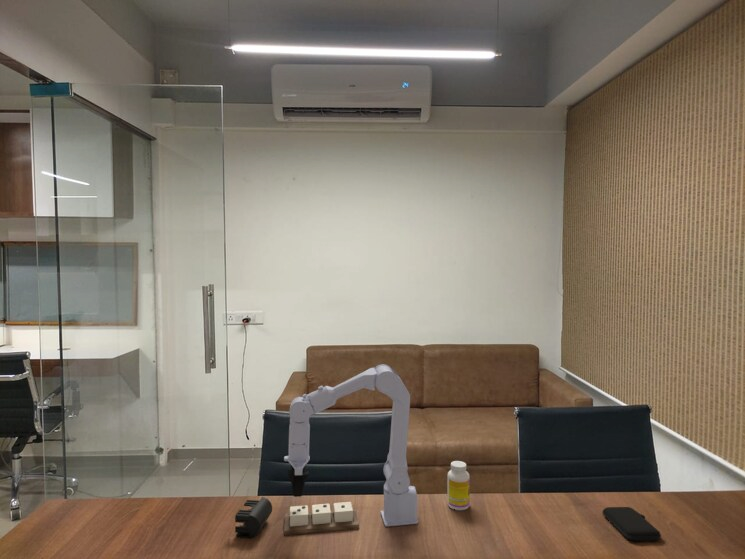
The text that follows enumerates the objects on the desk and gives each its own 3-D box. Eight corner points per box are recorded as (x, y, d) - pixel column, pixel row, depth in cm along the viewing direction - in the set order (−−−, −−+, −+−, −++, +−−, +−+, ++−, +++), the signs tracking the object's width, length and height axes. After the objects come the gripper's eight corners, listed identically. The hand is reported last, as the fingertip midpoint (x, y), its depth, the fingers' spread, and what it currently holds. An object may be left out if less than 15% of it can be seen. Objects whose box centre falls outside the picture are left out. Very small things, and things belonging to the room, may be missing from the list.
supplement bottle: (471, 511, 139) (472, 468, 139) (449, 511, 139) (449, 468, 138) (466, 499, 146) (467, 459, 145) (445, 500, 146) (445, 459, 145)
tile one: (350, 511, 137) (350, 501, 136) (352, 521, 132) (352, 509, 132) (333, 513, 136) (333, 502, 136) (334, 522, 131) (334, 511, 131)
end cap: (260, 541, 125) (259, 516, 124) (234, 539, 125) (234, 514, 125) (272, 520, 134) (272, 497, 134) (249, 518, 135) (248, 495, 135)
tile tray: (355, 512, 139) (355, 508, 139) (358, 528, 130) (358, 524, 130) (285, 518, 136) (285, 513, 136) (284, 535, 127) (284, 531, 127)
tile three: (307, 515, 135) (307, 504, 135) (308, 525, 130) (308, 513, 130) (290, 516, 134) (290, 505, 134) (289, 526, 129) (289, 515, 129)
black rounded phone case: (668, 544, 123) (635, 514, 138) (668, 532, 123) (635, 504, 138) (628, 545, 123) (599, 515, 137) (629, 533, 123) (599, 504, 137)
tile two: (329, 513, 136) (329, 502, 136) (330, 523, 131) (330, 511, 131) (312, 515, 135) (312, 504, 135) (312, 524, 130) (312, 513, 130)
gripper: (285, 432, 138) (284, 478, 138) (283, 452, 123) (282, 503, 124) (309, 431, 139) (308, 477, 139) (310, 451, 124) (309, 501, 125)
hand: (297, 489), depth 131 cm, fingers open, 7 cm apart
